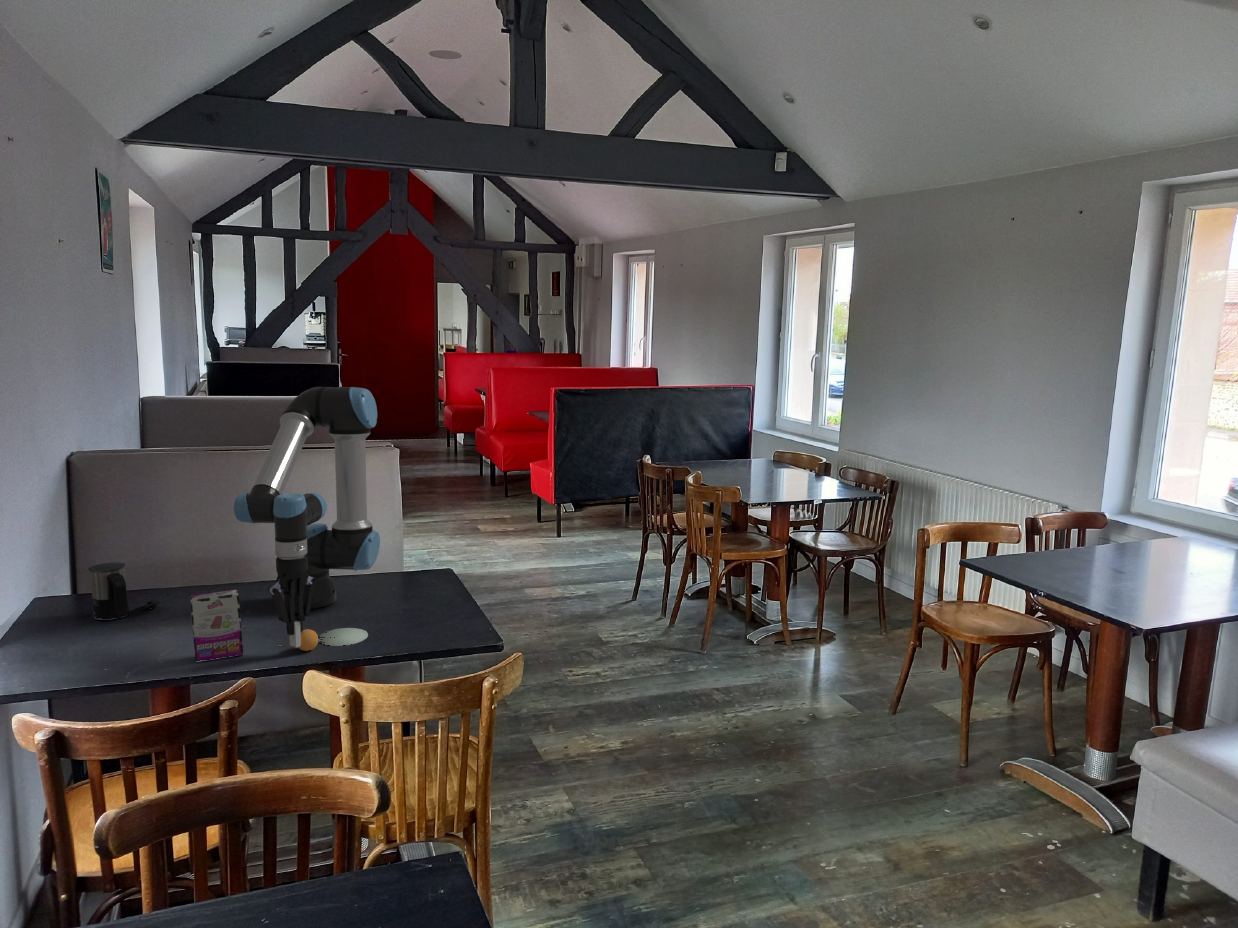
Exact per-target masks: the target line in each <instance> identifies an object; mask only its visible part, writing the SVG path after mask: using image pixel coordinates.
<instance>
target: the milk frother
mask: <svg viewBox="0 0 1238 928" xmlns="http://www.w3.org/2000/svg"><path fill="white" fill-rule="evenodd" d="M126 565H127V564H126V563H124V562H115V561H114V562H113V561H112V562H111V561H110V562H104V563H100V564H95V565H91V566H89V567H88V569H87V570H88V571H89V581H90V590H91V599H92V600H91V601H92V608H93V609H92V610H93V611H92V613H93V616H95V617H96V618H102V619H110V618H111V619H112V618H120V617H122V616H126V615H128V614H129V613H130V614H131V613H135V612H138V611H141V610H144V609H147V608H148V609H149V610H150V608H154V607H155V608H156V607H157V606H158V605H160V604H162V603H163V601H162V600H154V599H151V600H147V601H146V604H144V605H140V606H137V607H136V608H134V609H132V610H130V609H129V601H128V592H127V591H128V590H127V582H126V581H127V579H126V569H125V567H126ZM155 608H154V609H155ZM130 614H129V615H130ZM129 615H128V616H129ZM126 617H127V616H126Z"/></svg>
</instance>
